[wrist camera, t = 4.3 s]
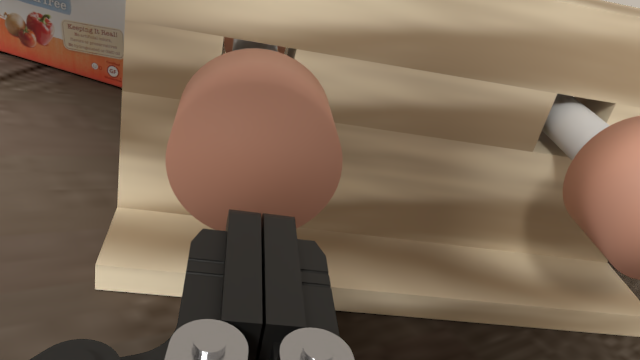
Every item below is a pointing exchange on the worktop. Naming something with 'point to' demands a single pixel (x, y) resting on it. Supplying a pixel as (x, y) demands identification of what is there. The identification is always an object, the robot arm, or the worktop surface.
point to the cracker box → (67, 35)
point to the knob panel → (403, 150)
